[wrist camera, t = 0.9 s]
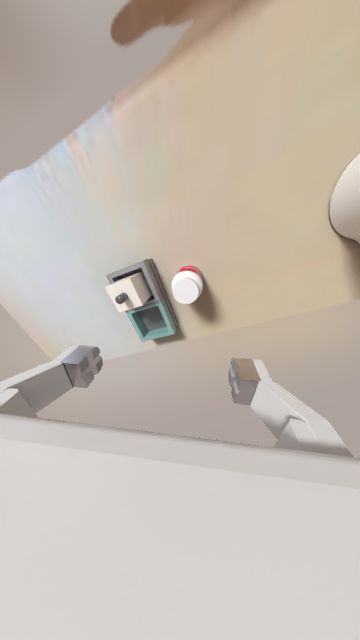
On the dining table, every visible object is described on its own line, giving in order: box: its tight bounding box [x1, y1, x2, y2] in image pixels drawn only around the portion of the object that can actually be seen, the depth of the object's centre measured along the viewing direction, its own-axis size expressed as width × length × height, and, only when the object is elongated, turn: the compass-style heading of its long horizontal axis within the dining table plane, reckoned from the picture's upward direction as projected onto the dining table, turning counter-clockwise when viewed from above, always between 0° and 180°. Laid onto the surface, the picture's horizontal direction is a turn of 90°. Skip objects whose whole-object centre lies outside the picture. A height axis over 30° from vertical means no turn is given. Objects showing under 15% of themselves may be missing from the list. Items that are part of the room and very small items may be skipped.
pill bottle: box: [171, 265, 203, 304], centre depth 32 cm, size 6×6×11 cm
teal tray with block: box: [105, 259, 178, 342], centre depth 36 cm, size 10×18×12 cm, turn 20°
